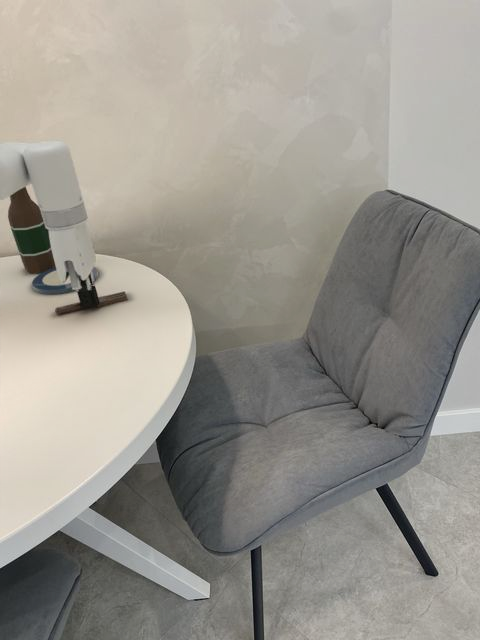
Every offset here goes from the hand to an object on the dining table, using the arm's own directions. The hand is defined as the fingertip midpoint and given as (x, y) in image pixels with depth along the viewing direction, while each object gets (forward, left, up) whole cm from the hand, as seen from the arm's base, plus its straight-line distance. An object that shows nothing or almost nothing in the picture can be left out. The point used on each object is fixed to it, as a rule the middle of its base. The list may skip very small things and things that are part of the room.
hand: (91, 306), depth 107 cm
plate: (-9, +16, -1) cm, 19 cm away
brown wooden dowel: (0, +2, -1) cm, 2 cm away
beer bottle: (-17, +25, -1) cm, 31 cm away
